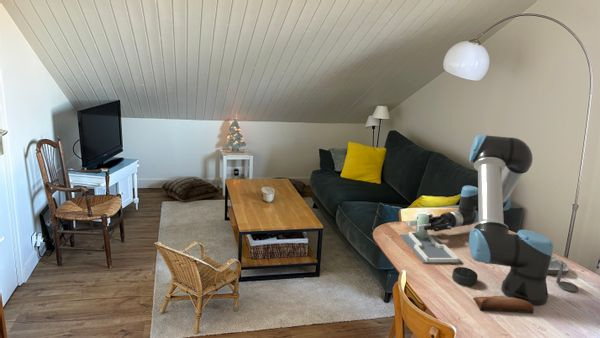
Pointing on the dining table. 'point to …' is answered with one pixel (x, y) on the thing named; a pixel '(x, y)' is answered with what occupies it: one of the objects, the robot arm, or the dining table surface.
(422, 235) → the sage post
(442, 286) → the dining table surface
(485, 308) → the sunglasses case
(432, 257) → the keyhole track
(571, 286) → the grey disc stand
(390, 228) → the dining table surface
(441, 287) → the dining table surface
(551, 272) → the brain slice
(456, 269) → the smart speaker
